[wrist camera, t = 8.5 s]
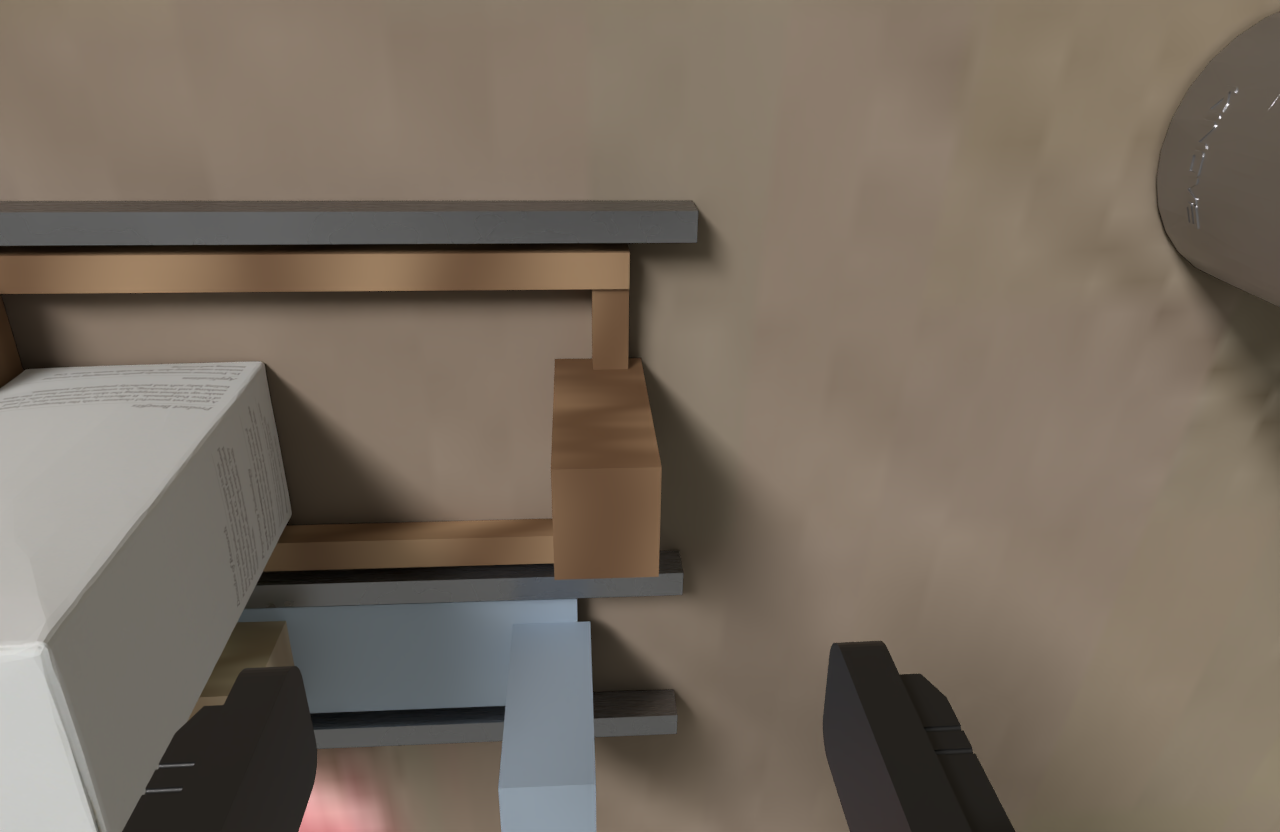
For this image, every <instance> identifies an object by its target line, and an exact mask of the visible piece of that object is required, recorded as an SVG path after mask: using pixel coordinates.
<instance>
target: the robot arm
mask: <svg viewBox="0 0 1280 832" xmlns="http://www.w3.org/2000/svg"><path fill="white" fill-rule="evenodd" d="M1157 193H1158V207H1159V211H1160V214H1161V217H1162V221H1163V224H1164V227H1165V231H1166V233H1167V234H1168V236H1169V238H1170V239H1171V241H1172V242H1173V244H1174V246H1175V247H1176V249H1177V250H1178V252H1179V253H1180V254H1181V255H1182V256H1184V257H1185V258H1186V259H1187V260H1188V261H1189V262H1190V263H1191V264H1192V265H1193V266H1194V267H1196V268H1198V269H1200V270H1202V271H1204V272H1206V273H1208V274H1210V275H1212V276H1214V277H1216V278H1218V279H1220V280H1222V281H1224V282H1226V283H1228V284H1231V285H1233V286H1235V287H1237V288H1239V289H1241V290H1244V291H1246V292H1248V293H1250V294H1252V295H1254V296H1256V297H1259V298H1261V299H1263V300H1265V301H1267V302H1269V303H1272V304H1274V305H1276V306H1278V307H1280V12H1277V13H1275V14H1273V15H1270V16H1268V17H1266V18H1264V19H1263V20H1261V21H1260V22H1258V23H1257V24H1255V25H1254V26H1252V27H1251V28H1249V29H1248V30H1246V31H1245V32H1243V33H1242V34H1240V35H1238V36H1237V37H1236V38H1235V39H1234V40H1233V41H1232V42H1230V43H1229V44H1228V45H1227V46H1226V47H1225V48H1224V49H1223V50H1222V51H1221V52H1220V53H1219V54H1217V55H1216V56H1215V57H1214V58H1213V59H1212V60H1211V61H1210V62H1209V63H1208V65H1207V66H1206V67H1205V69H1204V70H1203V71H1202V72H1201V74H1200V75H1199V76H1198V77H1197V79H1196V80H1195V81H1194V83H1193V84H1192V85H1191V86H1190V88H1189V89H1188V91H1187V93H1186V94H1185V96H1184V98H1183V100H1182V102H1181V103H1180V105H1179V107H1178V109H1177V111H1176V112H1175V114H1174V116H1173V118H1172V120H1171V123H1170V126H1169V129H1168V132H1167V134H1166V137H1165V140H1164V143H1163V146H1162V149H1161V154H1160V161H1159V168H1158V174H1157ZM960 726H961V725H960V723H959V721H958V719H957V717H956V715H955V713H954V711H953V709H952V707H951V705H950V703H949V702H948V700H947V698H946V697H945V696H944V695H943V694H942V693H941V692H940V691H939V690H938V689H937V688H936V687H934V686H933V685H932V684H931V683H930V682H929V681H928V680H927V679H926V678H925V677H923V676H922V675H921V674H904V675H899V673H898V671H897V668H896V666H895V664H894V662H893V660H892V658H891V655H890V653H889V651H888V649H887V647H886V645H885V644H884V643H883V642H882V641H867V642H845V643H833V645H832V646H831V650H830V656H829V666H828V675H827V685H826V695H825V704H824V714H823V737H824V745H825V751H826V756H827V760H828V764H829V767H830V770H831V773H832V776H833V780H834V783H835V786H836V789H837V792H838V795H839V798H840V802H841V805H842V808H843V811H844V814H845V817H846V820H847V824H848V827H849V830H850V832H1015V830H1014V828H1013V826H1012V824H1011V822H1010V821H1009V819H1008V817H1007V815H1006V813H1005V811H1004V809H1003V807H1002V805H1001V803H1000V801H999V799H998V797H997V795H996V793H995V791H994V789H993V787H992V785H991V783H990V782H989V780H988V778H987V776H986V774H985V772H984V770H983V768H982V766H981V764H980V762H979V760H978V758H977V756H976V754H973V752H972V746H971V744H970V743H969V741H968V739H967V737H966V735H965V733H964V731H961V727H960ZM316 767H317V745H316V739H315V734H314V730H313V725H312V720H311V716H310V711H309V706H308V702H307V697H306V692H305V687H304V683H303V678H302V674H301V672H300V670H299V668H298V667H297V666H282V667H260V668H245V669H243V670H242V671H241V672H240V673H239V675H238V677H237V679H236V681H235V683H234V685H233V687H232V689H231V691H230V693H229V695H228V697H227V699H226V701H225V703H224V705H213V706H203V707H202V708H201V709H200V710H199V711H198V712H197V713H196V714H195V715H194V716H193V717H192V718H191V719H190V720H189V721H187V722H186V723H185V724H184V725H183V726H182V727H181V728H180V729H179V730H178V731H177V732H176V733H175V734H174V736H173V738H172V740H171V742H170V744H169V745H168V747H167V749H166V751H165V753H164V755H163V757H162V758H161V760H160V762H159V768H158V769H156V770H155V771H154V773H153V775H152V777H151V779H150V781H149V783H148V784H147V786H146V788H145V789H146V791H145V795H142V796H141V797H140V799H139V801H138V803H137V805H136V807H135V808H134V810H133V812H132V814H131V816H130V818H129V820H128V821H127V823H126V825H125V827H124V829H123V831H122V832H298V831H299V828H300V825H301V822H302V818H303V815H304V812H305V809H306V806H307V803H308V800H309V797H310V794H311V791H312V788H313V785H314V780H315V775H316Z"/></svg>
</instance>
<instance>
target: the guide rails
mask: <svg viewBox="0 0 1280 832" xmlns="http://www.w3.org/2000/svg"><path fill="white" fill-rule="evenodd" d="M697 229H698V210H697V208H696V206H695V204H694V203H693V201H0V246H44V245H269V244H495V243H697ZM682 592H683V569H682V564H681V559H680V553H679V551H659V577H634V578H600V579H567V580H554V563H546V564H511V565H476V566H441V567H406V568H371V569H336V570H301V571H266V572H262V574H261V576H260V578H259V580H258V582H257V584H256V586H255V588H254V590H253V592H252V594H251V596H250V598H249V600H248V602H247V604H246V606H245V608H244V609H247V608H279V607H311V606H343V605H375V604H406V603H438V602H470V601H502V600H534V599H566V598H598V597H630V596H662V595H682ZM505 707H506V706H486V707H460V708H435V709H409V710H384V711H358V712H333V713H310V716H311V720H312V725H313V730H314V734H315V739H316V745H317V749H323V748H347V747H371V746H395V745H419V744H443V743H466V742H490V741H503V730H504V718H505ZM593 716H594V737H610V736H633V735H657V734H677V709H676V702H675V695H674V690H649V691H623V692H598V693H593Z"/></svg>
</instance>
